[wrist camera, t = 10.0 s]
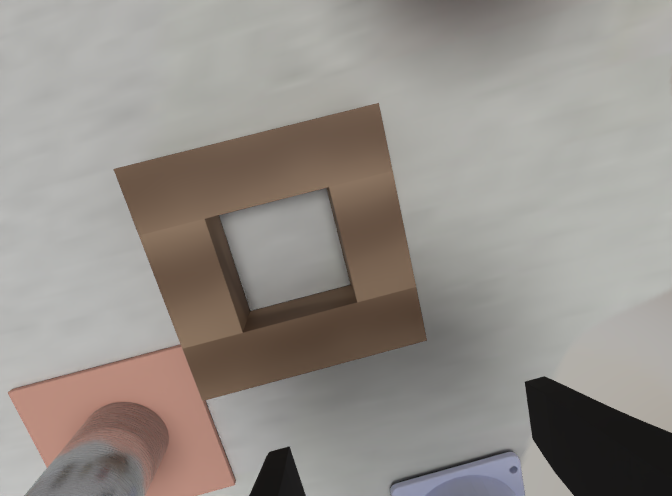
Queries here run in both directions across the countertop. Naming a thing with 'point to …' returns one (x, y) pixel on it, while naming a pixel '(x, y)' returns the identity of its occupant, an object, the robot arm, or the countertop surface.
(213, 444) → the rubber mat
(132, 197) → the socket block
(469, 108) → the countertop surface
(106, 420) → the metal plug
